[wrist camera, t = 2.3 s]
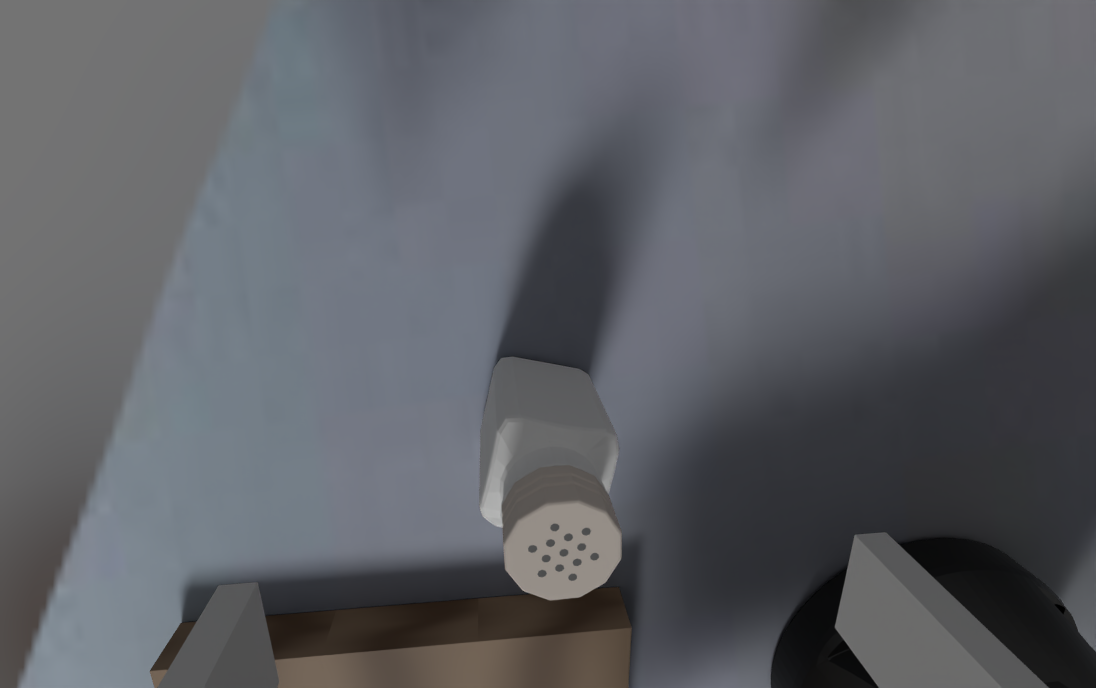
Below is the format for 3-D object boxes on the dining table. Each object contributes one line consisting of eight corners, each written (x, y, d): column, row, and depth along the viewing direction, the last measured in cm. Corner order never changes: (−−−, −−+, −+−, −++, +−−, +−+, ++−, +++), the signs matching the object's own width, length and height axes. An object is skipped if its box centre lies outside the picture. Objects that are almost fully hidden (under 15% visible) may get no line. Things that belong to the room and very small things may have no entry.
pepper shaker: (591, 366, 23) (657, 498, 14) (568, 450, 25) (616, 621, 16) (496, 348, 23) (504, 475, 14) (477, 436, 24) (473, 605, 15)
